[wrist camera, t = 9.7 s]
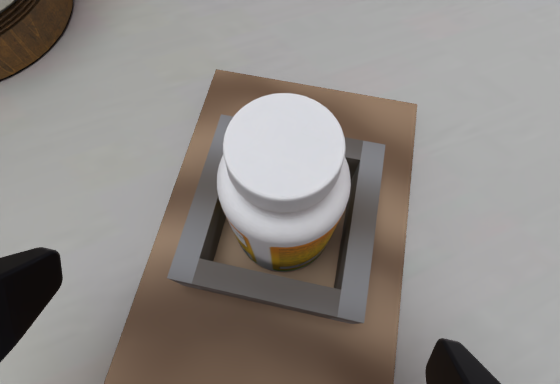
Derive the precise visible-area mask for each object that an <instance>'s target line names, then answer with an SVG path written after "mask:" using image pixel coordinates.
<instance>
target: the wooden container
mask: <svg viewBox="0 0 560 384" xmlns="http://www.w3.org/2000/svg"><path fill="white" fill-rule="evenodd" d="M72 6H73V0H0V80H1V79H3V78H6V77H8V76H10V75H12V74H14V73H16V72H18V71H20V70H21V69H23V68H25V67H27V66H28V65H30V64H31V63H33V62H34V61H36V60H37V59H38V58H39V57H41V56H42V55H43V54H44V53H45V52H46V51H47V50H48V49H49V48H50V47H51V46H52V45H53V44H54V43H55V42H56V40H57V39H58V38H59V37H60V36H61V34H62V32H63V30H64V29H65V27H66V25H67V23H68V20H69V18H70V15H71V11H72Z"/></svg>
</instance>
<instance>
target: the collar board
mask: <svg viewBox="0 0 560 384" xmlns="http://www.w3.org/2000/svg"><path fill="white" fill-rule="evenodd" d="M276 93H292V94H298V95H302V96H306V97H308V98H311V99H313V100H315V101H317V102H319V103H320V104H322V105H323V106H325V107H326V108H327V109H328V110H329V111H330V112H331V113H332V114H333V115H334V116H335V118H336V119H337V121H338V122H339V124H340V126H341V128H342V131H343V134H344V138H345V145H346V150H345V158H346V160H347V163H348V166H349V171H350V179H351V188H350V195H349V199H348V202H347V205H346V208H345V211H344V213H343V215H342V217H341V219H340V221H339V222H338V224H337V226H336V228H335V230H334V232H333V234H332V236H331V237H330V239H329V241H328V243H327V245H326V247H325V249H324V250H323V252H322V253H321V254H320V255H319V257H318V258H317V259H316V260H314V261H313V262H312V263H311V264H309V265H307V266H306V267H303V268H301V269H298V270H295V271H289V272H277V271H272V270H268V269H265V268H263V267H261V266H259V265H258V264H256V263H255V262H253V261H252V260H251V259H250V258H249V257H248V256H247V255H246V253H245V252H244V251H243V249H242V248H241V246H240V244H239V242H238V240H237V238H236V236H235V234H234V232H233V230H232V228H231V226H230V224H229V222H228V220H227V218H226V215H225V214H224V212H223V209H222V207H221V204H220V201H219V197H218V192H217V172H218V167H219V164H220V161H221V158H222V156H223V141H224V135H225V132H226V129H227V127H228V125H229V123H230V121H231V120H232V118H233V117H234V115H235V114H236V113H237V112H238V111H239V110H240V109H241V108H243V107H244V106H245V105H247V104H248V103H250V102H251V101H253V100H255V99H257V98H260V97H262V96H266V95H270V94H276ZM416 112H417V104H413V103H407V102H401V101H395V100H390V99H384V98H378V97H372V96H367V95H361V94H355V93H349V92H344V91H338V90H332V89H326V88H321V87H315V86H309V85H303V84H298V83H292V82H286V81H280V80H275V79H269V78H263V77H257V76H252V75H246V74H240V73H234V72H229V71H223V70H217V69H216V71H215V74H214V77H213V80H212V82H211V85H210V88H209V91H208V94H207V96H206V99H205V102H204V105H203V108H202V110H201V113H200V116H199V119H198V122H197V124H196V127H195V130H194V133H193V136H192V138H191V141H190V144H189V147H188V150H187V152H186V155H185V158H184V161H183V164H182V166H181V169H180V172H179V175H178V178H177V180H176V183H175V186H174V189H173V192H172V194H171V197H170V200H169V203H168V206H167V208H166V211H165V214H164V217H163V220H162V222H161V225H160V228H159V231H158V234H157V236H156V239H155V242H154V245H153V248H152V250H151V253H150V256H149V259H148V262H147V264H146V267H145V270H144V273H143V276H142V278H141V281H140V284H139V287H138V290H137V292H136V295H135V298H134V301H133V304H132V306H131V309H130V312H129V315H128V318H127V320H126V323H125V326H124V329H123V332H122V334H121V337H120V340H119V343H118V345H117V348H116V351H115V354H114V357H113V359H112V362H111V365H110V368H109V371H108V373H107V376H106V379H105V382H104V384H393V381H394V369H395V358H396V346H397V334H398V323H399V311H400V299H401V288H402V276H403V264H404V253H405V241H406V229H407V217H408V206H409V194H410V182H411V171H412V159H413V147H414V136H415V124H416Z"/></svg>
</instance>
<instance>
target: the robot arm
mask: <svg viewBox="0 0 560 384" xmlns="http://www.w3.org/2000/svg"><path fill="white" fill-rule="evenodd" d="M62 279H63V277H62V268H61V260H60V254H59V253H58V252H57V251H56V250H52V249H48V248H43V247H39V248H35V249H31V250H27V251H24V252H20V253H16V254H13V255H9V256H6V257H2V258H0V362H1V361H2V360H3V359H4V358H5V357H6V355H7V354H8V353H9V352H10V351H11V350H12V349H13V347H14V346H15V345H16V344H17V343H18V342H19V340H20V339H21V338H22V337H23V335H24V334H25V333H26V331H27V330H28V329H29V328H30V326H31V325H32V324H33V322H34V321H35V320H36V318H37V317H38V316H39V314H40V313H41V312H42V310H43V309H44V308H45V307H46V305H47V304H48V303H49V301H50V300H51V299H52V297H53V296H54V295H55V293H56V292H57V291H58V290H59V288H60V286H61V284H62ZM426 383H427V384H501V383H500V382H499V381H498V380H497V379H496V378H495V377H494V376H493V375H492V374H491V373H490V372H489V371H488V370H487V369H486V368H485V367H484V366H483V365H482V364H481V363H480V362H479V361H478V360H477V359H476V358H475V357H474V356H473V355H472V354H471V353H470V352H469V351H468V350H467V349H466V348H465V347H464V346H463V345H462V344H461V343H459V342H457V341H453V340H448V339H444V338H442V339H439V340H438V341H437V343H436V345H435V347H434V349H433V351H432V354H431V356H430V358H429V360H428V363H427V366H426Z"/></svg>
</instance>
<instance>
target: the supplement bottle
mask: <svg viewBox="0 0 560 384" xmlns="http://www.w3.org/2000/svg"><path fill="white" fill-rule="evenodd" d="M345 150H346V145H345V138H344V134H343V131H342V128H341V126H340V124H339V122H338V121H337V119H336V118H335V116H334V115H333V114H332V113H331V112H330V111H329V110H328V109H327V108H326V107H325V106H323V105H322V104H320V103H319V102H317V101H315V100H313V99H311V98H308V97H306V96H302V95H298V94H292V93H276V94H270V95H266V96H262V97H260V98H257V99H255V100H253V101H251V102H250V103H248V104H247V105H245V106H244V107H243V108H241V109H240V110H239V111H238V112H237V113H236V114H235V115H234V117H233V118H232V120H231V121H230V123H229V125H228V127H227V129H226V132H225V135H224V141H223V156H222V158H221V161H220V164H219V167H218V172H217V192H218V197H219V201H220V204H221V207H222V209H223V212H224V214H225V215H226V218H227V220H228V222H229V224H230V226H231V228H232V230H233V232H234V234H235V236H236V238H237V240H238V242H239V244H240V246H241V248H242V249H243V251H244V252H245V253H246V255H247V256H248V257H249V258H250V259H251V260H252V261H253V262H255V263H256V264H258V265H259V266H261V267H263V268H265V269H268V270H272V271H277V272H289V271H295V270H298V269H301V268H303V267H306V266H307V265H309V264H311V263H312V262H313V261H314V260H316V259H317V258H318V257H319V255H320V254H321V253H322V252H323V250H324V249H325V247H326V245H327V243H328V241H329V239H330V237H331V236H332V234H333V232H334V230H335V228H336V226H337V224H338V222H339V221H340V219H341V217H342V215H343V213H344V211H345V208H346V205H347V202H348V199H349V195H350V188H351V179H350V171H349V166H348V163H347V160H346V158H345Z"/></svg>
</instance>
